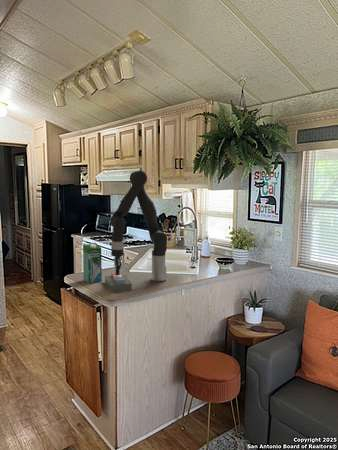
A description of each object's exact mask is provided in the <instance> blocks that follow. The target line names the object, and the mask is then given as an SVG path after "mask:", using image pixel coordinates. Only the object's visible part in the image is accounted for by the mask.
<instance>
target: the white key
mask: <svg viewBox="0 0 338 450" xmlns="http://www.w3.org/2000/svg"><path fill="white" fill-rule="evenodd" d="M122 275H123V274H120V275H113V280H114V281H115V278H122Z"/></svg>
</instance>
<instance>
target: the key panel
mask: <svg viewBox="0 0 338 450" xmlns="http://www.w3.org/2000/svg"><path fill="white" fill-rule="evenodd" d="M121 275H122V278H124V279H125V284H119V285H116V284H115V281H114V280H113V278H112V277H111V275H105V276H104V283H105V285H106V287H107V288H108V290H109V292H110V293H117V292H118V293H119V292H125V291H128V292H129V291H132V288H133V287H132V286H133V284H132V282H131V280H129V279H128V277H127V276H126V274H121Z"/></svg>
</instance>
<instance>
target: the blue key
mask: <svg viewBox="0 0 338 450" xmlns="http://www.w3.org/2000/svg"><path fill="white" fill-rule="evenodd" d="M115 284H116V285H119V284H125V279H124V278H115Z"/></svg>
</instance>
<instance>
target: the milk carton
mask: <svg viewBox="0 0 338 450" xmlns="http://www.w3.org/2000/svg"><path fill="white" fill-rule="evenodd" d="M82 253H83V254H82V260H83V261H82V262H83V263H82V264H83V266H82V267H83V281H84V282H86V283H88V284H95V283H100V282H102V279H103V278H102V277H103V275H102V247H101V246H100V245H99V244H98V243H96V242H89V243H82Z"/></svg>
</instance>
